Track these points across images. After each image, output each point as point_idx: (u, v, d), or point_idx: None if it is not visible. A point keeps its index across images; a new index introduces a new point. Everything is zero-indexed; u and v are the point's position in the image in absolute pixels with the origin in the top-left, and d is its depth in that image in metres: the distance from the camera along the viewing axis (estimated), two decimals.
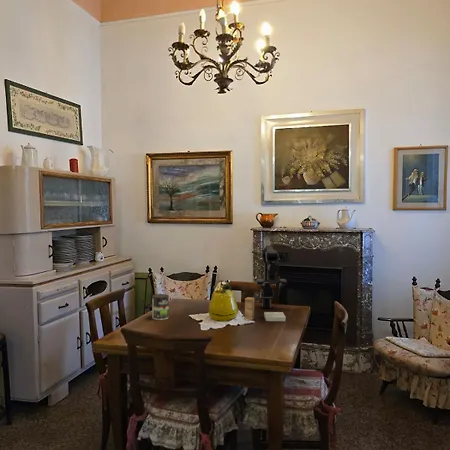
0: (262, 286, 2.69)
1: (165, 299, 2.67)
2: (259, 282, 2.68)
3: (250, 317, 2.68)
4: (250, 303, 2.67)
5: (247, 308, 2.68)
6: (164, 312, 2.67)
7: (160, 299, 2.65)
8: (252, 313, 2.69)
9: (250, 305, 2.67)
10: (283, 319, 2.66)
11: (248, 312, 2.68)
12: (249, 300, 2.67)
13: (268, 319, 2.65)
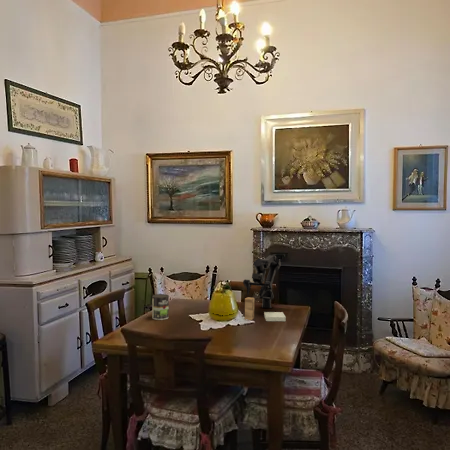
0: (247, 284, 2.81)
1: (165, 299, 2.67)
2: (245, 280, 2.83)
3: (250, 317, 2.68)
4: (250, 303, 2.67)
5: (247, 308, 2.68)
6: (164, 312, 2.67)
7: (160, 299, 2.65)
8: (252, 313, 2.69)
9: (250, 305, 2.67)
10: (283, 319, 2.66)
11: (248, 312, 2.68)
12: (249, 300, 2.67)
13: (268, 319, 2.65)
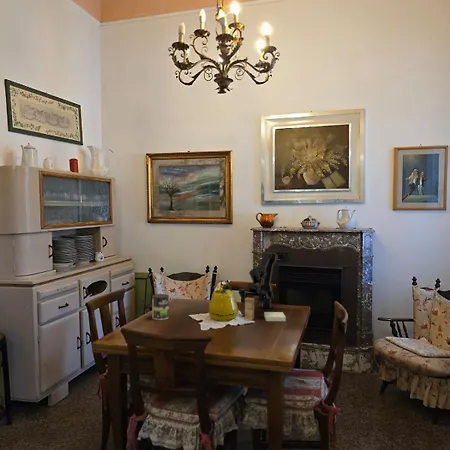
0: (242, 294, 2.75)
1: (165, 299, 2.67)
2: (240, 290, 2.77)
3: (250, 317, 2.68)
4: (250, 303, 2.67)
5: (247, 308, 2.68)
6: (164, 312, 2.67)
7: (160, 299, 2.65)
8: (252, 313, 2.69)
9: (250, 305, 2.67)
10: (283, 319, 2.66)
11: (248, 312, 2.68)
12: (249, 300, 2.67)
13: (268, 319, 2.65)
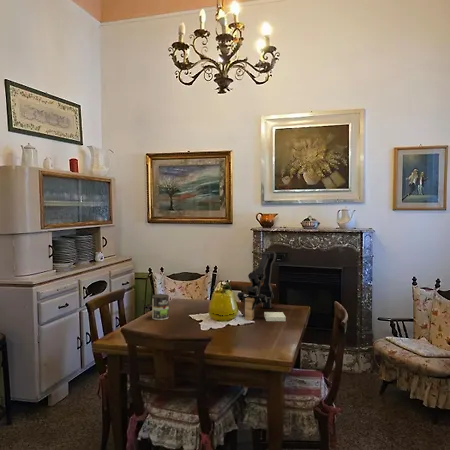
0: (244, 298, 2.72)
1: (165, 299, 2.67)
2: (239, 293, 2.75)
3: (250, 317, 2.68)
4: (250, 303, 2.67)
5: (247, 308, 2.68)
6: (164, 312, 2.67)
7: (160, 299, 2.65)
8: (252, 313, 2.69)
9: (250, 305, 2.67)
10: (283, 319, 2.66)
11: (248, 312, 2.68)
12: (249, 300, 2.67)
13: (268, 319, 2.65)
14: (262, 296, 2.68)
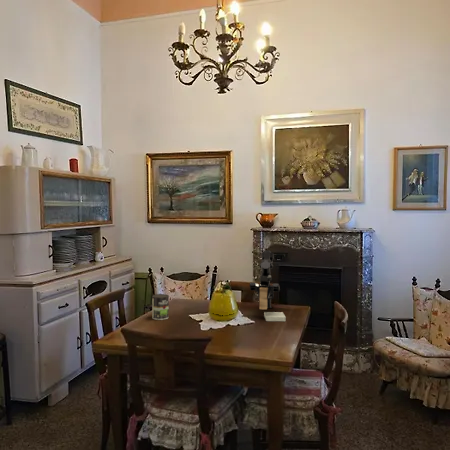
0: (258, 288, 2.71)
1: (165, 299, 2.67)
2: (251, 283, 2.73)
3: (265, 306, 2.67)
4: (265, 292, 2.67)
5: (262, 297, 2.67)
6: (164, 312, 2.67)
7: (160, 299, 2.65)
8: (266, 302, 2.69)
9: (265, 294, 2.67)
10: (283, 319, 2.66)
11: (263, 302, 2.67)
12: (264, 289, 2.67)
13: (268, 319, 2.65)
14: (276, 285, 2.69)
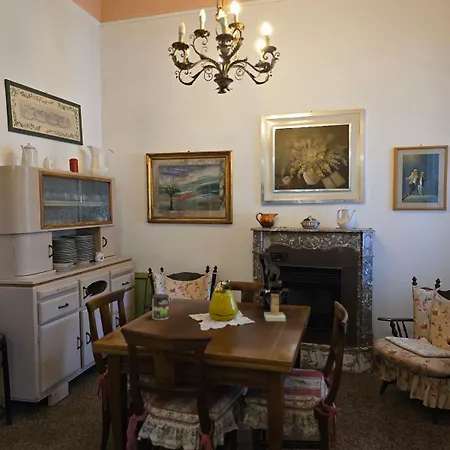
0: (266, 293, 2.72)
1: (165, 299, 2.67)
2: (262, 289, 2.73)
3: (277, 313, 2.69)
4: (277, 299, 2.69)
5: (274, 303, 2.69)
6: (164, 312, 2.67)
7: (160, 299, 2.65)
8: None
9: (277, 301, 2.69)
10: (283, 319, 2.66)
11: (275, 308, 2.69)
12: (276, 296, 2.69)
13: (268, 319, 2.65)
14: (286, 290, 2.73)
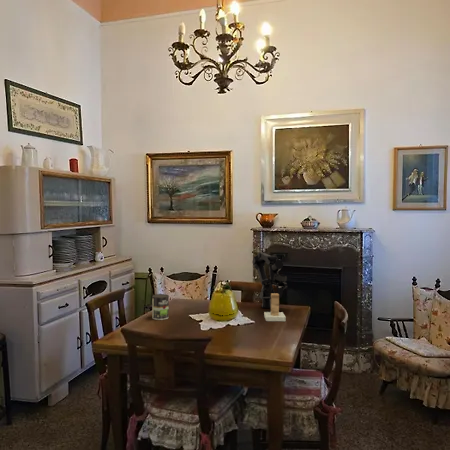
0: (271, 285, 2.78)
1: (165, 299, 2.67)
2: (269, 280, 2.77)
3: (277, 313, 2.69)
4: (277, 299, 2.69)
5: (274, 303, 2.69)
6: (164, 312, 2.67)
7: (160, 299, 2.65)
8: None
9: (277, 301, 2.69)
10: (283, 319, 2.66)
11: (275, 308, 2.69)
12: (276, 296, 2.69)
13: (268, 319, 2.65)
14: (286, 285, 2.86)
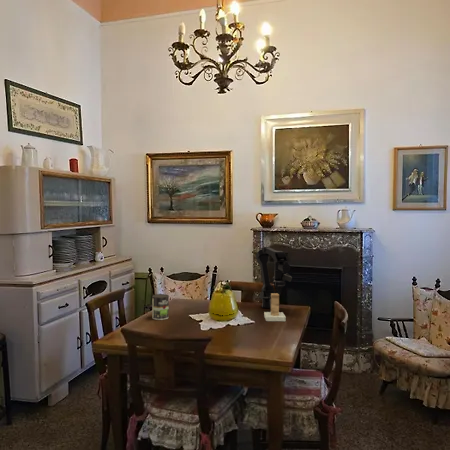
0: None
1: (165, 299, 2.67)
2: None
3: (277, 313, 2.69)
4: (277, 299, 2.69)
5: (274, 303, 2.69)
6: (164, 312, 2.67)
7: (160, 299, 2.65)
8: None
9: (277, 301, 2.69)
10: (283, 319, 2.66)
11: (275, 308, 2.69)
12: (276, 296, 2.69)
13: (268, 319, 2.65)
14: None
